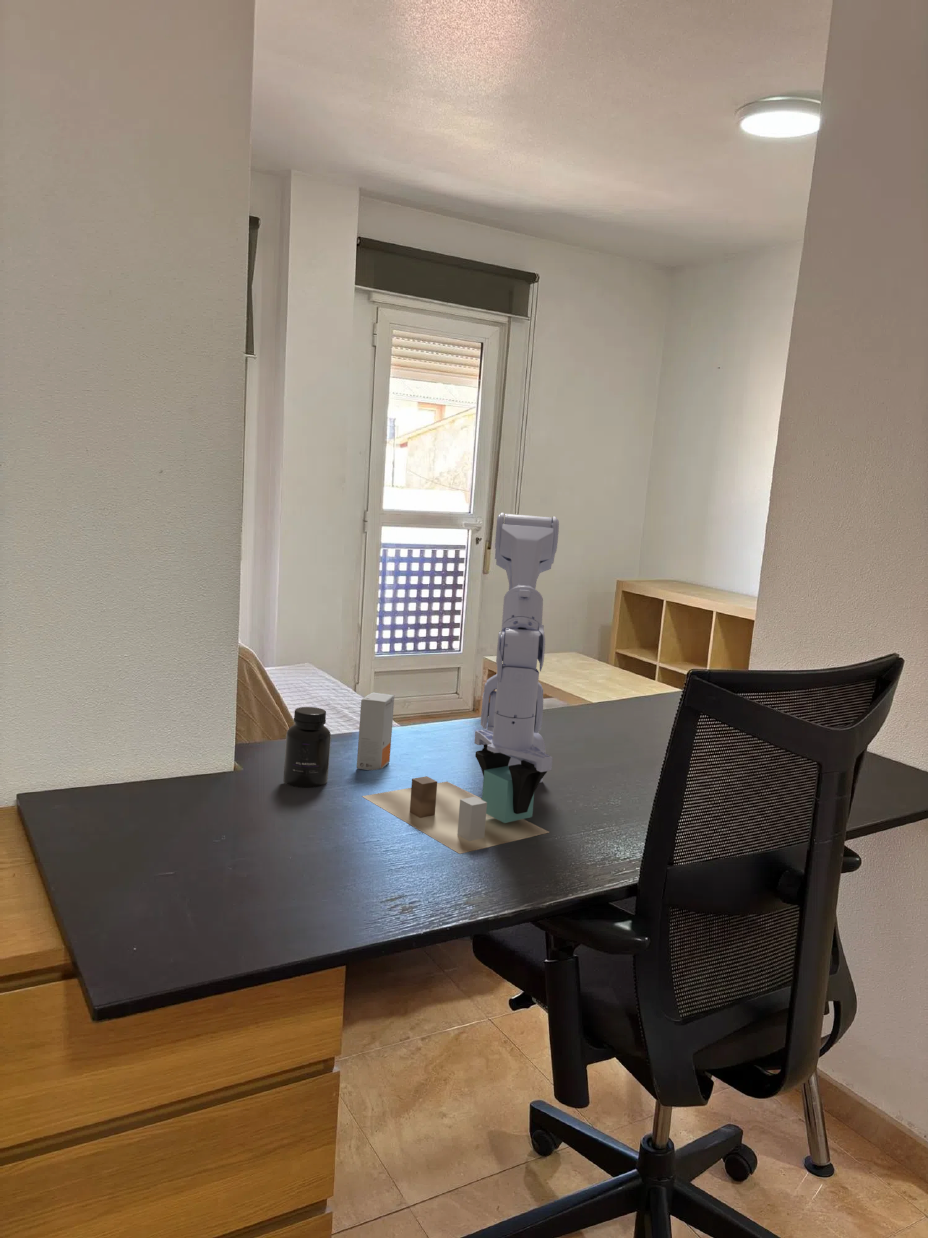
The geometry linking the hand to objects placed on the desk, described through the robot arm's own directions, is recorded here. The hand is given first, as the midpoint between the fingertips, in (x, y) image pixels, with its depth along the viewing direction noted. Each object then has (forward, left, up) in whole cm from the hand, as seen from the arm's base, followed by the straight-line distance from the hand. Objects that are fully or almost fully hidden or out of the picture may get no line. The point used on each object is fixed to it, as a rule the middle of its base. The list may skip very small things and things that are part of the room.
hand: (507, 805), depth 130 cm
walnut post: (+9, -8, -2) cm, 12 cm away
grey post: (+8, +2, -2) cm, 9 cm away
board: (+5, -6, -3) cm, 8 cm away
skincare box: (+2, -32, -3) cm, 32 cm away
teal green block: (0, 0, -1) cm, 1 cm away
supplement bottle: (+17, -28, -3) cm, 33 cm away
